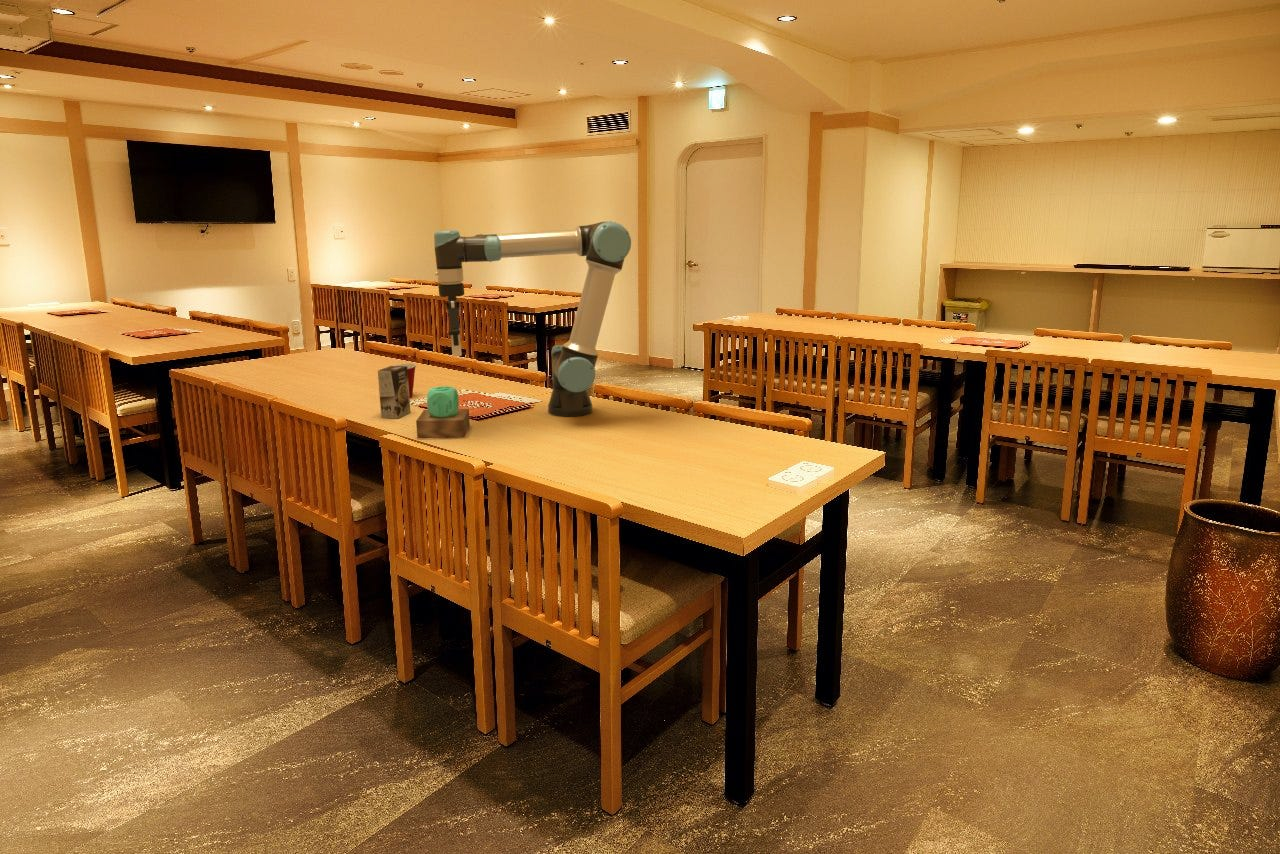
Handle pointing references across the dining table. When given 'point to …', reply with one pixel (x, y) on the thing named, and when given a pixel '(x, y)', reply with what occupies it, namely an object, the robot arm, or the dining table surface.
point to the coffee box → (394, 391)
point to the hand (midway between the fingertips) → (456, 352)
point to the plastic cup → (409, 375)
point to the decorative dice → (442, 402)
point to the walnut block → (443, 425)
